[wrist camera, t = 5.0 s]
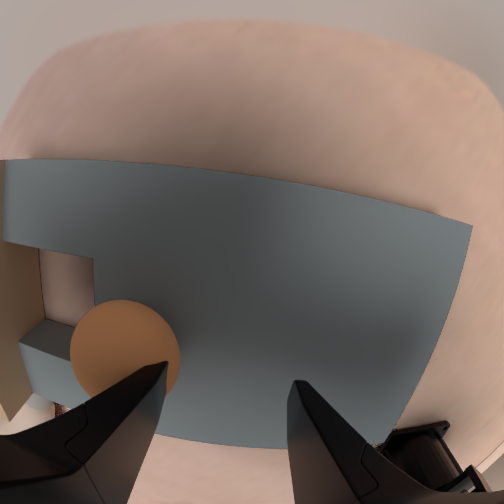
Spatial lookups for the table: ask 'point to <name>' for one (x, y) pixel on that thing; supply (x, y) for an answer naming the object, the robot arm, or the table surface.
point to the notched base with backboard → (230, 290)
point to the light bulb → (29, 415)
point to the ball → (121, 345)
